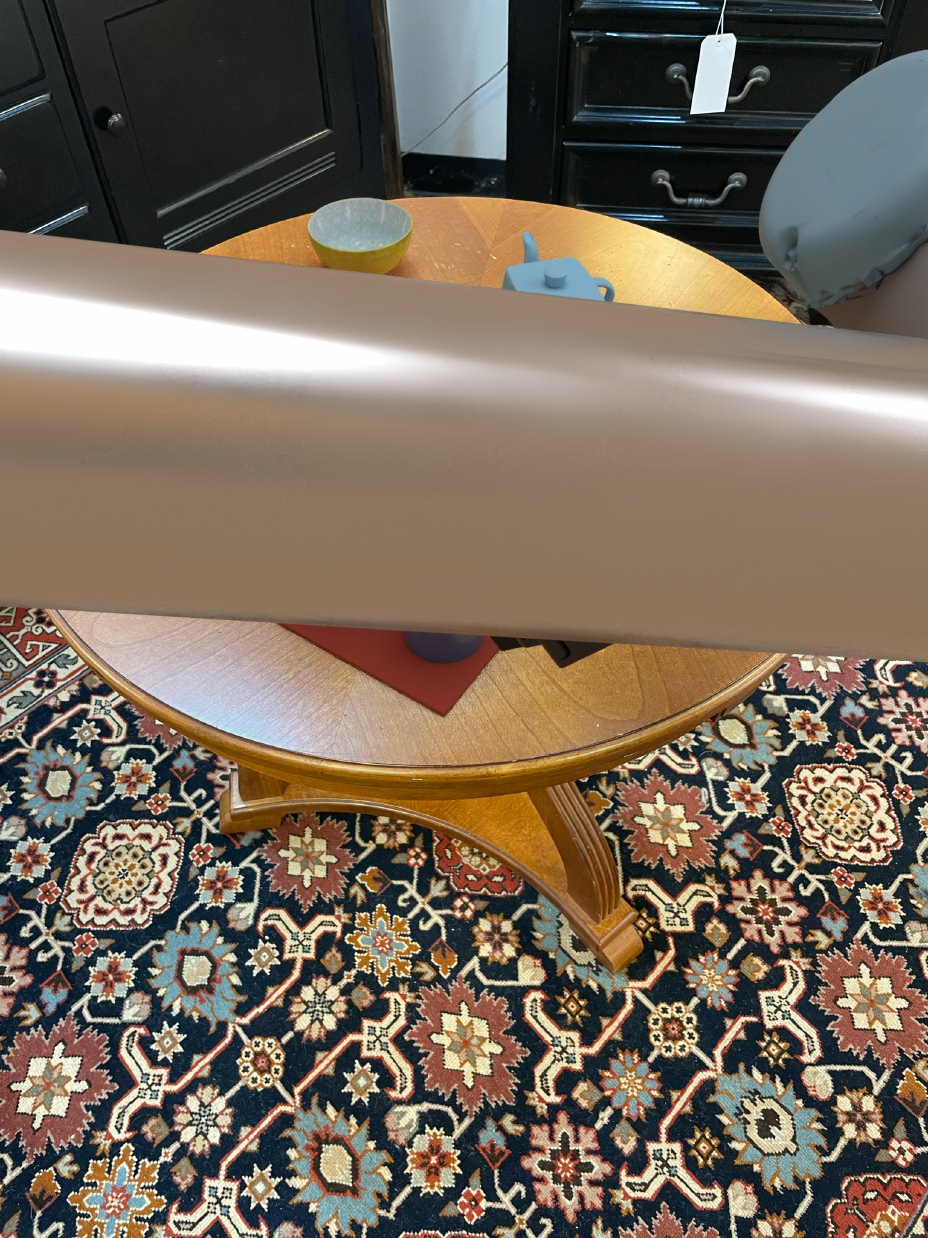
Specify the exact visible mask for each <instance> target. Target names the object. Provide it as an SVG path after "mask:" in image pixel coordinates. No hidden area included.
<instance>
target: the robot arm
mask: <svg viewBox="0 0 928 1238" xmlns="http://www.w3.org/2000/svg"><path fill="white" fill-rule="evenodd" d="M758 234H759V241H760V245H761V248H762V251H763V253H764V255H765V258H766V259H767V261H768V262H769V263H770V264H771V265H772V266H773V267H774V268H775V269H776V270H777V271H778V272H779V273H780V274H781V276H782V277H783V278H784V279H785V280H786V281H787V282H788V283H789V284H790V285H791V286H792V287H793V288H794V290H795V291H796V294H797V299H798V301H799V302H800V303H801V304H802V305H803V306H804V307H805V308H807V309H814V310H815V311H817V312H818V313H819V314H821V315H822V316H823V317H825V318H826V319H827V320H828V321H829V322H830V324H832V326H833V327H832V326H831V327H829V326H821V325H813V324H812V325H811V324H806V323H796V322H789V321H788V322H787V321H779V320H770V319H761V318H752V317H745V316H737V315H728V314H720V313H719V314H718V313H710V312H702V311H695V310H685V309H678V308H668V307H659V306H651V305H645V304H644V305H642V304H634V303H626V302H619V301H613V302H610V301H601V300H592V299H584V298H575V297H567V296H558V295H550V294H541V293H533V292H524V291H516V290H507V289H502V288H499V287H498V288H497V287H491V286H490V287H489V286H482V285H481V286H480V285H473V284H463V283H455V282H448V281H439V280H432V279H431V280H429V279H423V278H421V279H420V278H413V277H406V276H405V277H404V276H397V275H396V276H395V275H387V274H384V275H379V274H371V273H362V272H354V271H345V270H337V269H330V268H329V267H318V266H310V265H302V264H294V263H287V262H286V263H284V262H278V261H277V262H276V261H269V260H268V261H267V260H260V259H252V258H243V257H234V256H225V255H216V254H209V253H208V254H207V253H201V252H192V251H184V250H183V251H182V250H173V249H165V248H156V247H148V246H140V245H131V244H122V243H115V242H106V241H97V240H88V239H82V238H81V239H80V238H73V237H65V236H63V237H62V236H57V235H54V236H53V235H47V234H37V233H31V232H30V233H29V232H20V231H13V230H4V229H0V607H3V608H4V607H5V608H18V609H19V608H21V609H36V610H54V611H55V610H56V611H70V612H86V613H87V612H88V613H103V614H121V615H135V616H136V615H137V616H138V615H139V616H154V617H169V618H170V617H172V618H185V619H186V618H187V619H202V620H203V619H205V620H219V621H220V620H221V621H235V622H236V621H237V622H252V623H253V622H254V623H269V624H278V623H284V624H301V625H318V626H334V627H351V628H367V629H384V630H400V631H417V632H434V633H450V634H467V635H483V636H490V637H491V639H492V640H493V641H494V643H495V644H496V645H497V646H498V648H499V651H500V652H505V651H510V650H514V649H521V648H525V649H529V648H534V647H537V646H542V648H543V649H544V650H545V652H546V653H547V655H548V656H549V657H550V658H551V659H552V661H553V663H555V665H556V666H557V667H558V668H559V669H564V668H567V667H569V666H571V665H573V664H575V663H577V662H579V661H581V660H583V659H585V658H587V657H590V656H591V655H594V654H596V653H599V652H600V651H603V650H605V649H606V648H608V647H610V646H612V645H615V644H619V645H633V646H634V645H635V646H648V647H649V646H652V647H666V648H667V647H668V648H681V649H683V648H684V649H699V650H716V651H717V650H718V651H734V652H748V653H749V652H752V653H764V654H765V653H767V654H780V655H781V654H783V655H784V654H785V655H799V656H800V655H801V656H817V657H831V658H833V657H834V658H849V659H863V660H866V659H867V660H883V661H884V660H885V661H899V662H913V663H914V662H917V663H928V49H923V50H918V51H913V52H910V53H907V54H904V55H900V56H897V57H895V58H893V59H891V60H890V59H889V60H888V61H886V62H884V63H882V64H880V65H878V66H877V67H874V68H873V69H871V70H870V71H867V72H866V73H864V74H863V75H861V76H859V77H858V78H857V79H855V80H854V81H852V82H851V83H849V84H848V85H847V86H845V87H844V88H843V89H842V90H841V91H840V92H839V93H837V94H836V95H835V96H834V97H833V98H832V100H831V101H829V103H828V104H826V105H825V106H824V107H823V108H822V109H821V110H820V111H819V112H818V113H817V114H816V115H815V116H814V117H813V118H812V119H811V120H810V121H809V122H808V123H807V124H805V125H804V127H803V128H802V129H801V131H800V132H798V134H797V136H796V137H795V138H794V139H793V140H792V142H791V143H790V145H789V146H788V147H787V149H786V151H785V152H784V154H783V155H782V157H781V159H780V161H779V163H778V164H777V166H776V168H775V169H774V171H773V174H772V176H771V178H770V179H769V182H768V184H767V187H766V189H765V191H764V194H763V198H762V202H761V205H760V210H759V218H758Z"/></svg>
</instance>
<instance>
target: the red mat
mask: <svg viewBox="0 0 928 1238" xmlns="http://www.w3.org/2000/svg"><path fill="white" fill-rule="evenodd" d="M277 625H279V626H282V627H283V628H284V629H287V630H288V631H290V632H292V633H294V634H296V635H297V636H299V637H301V638H303V639H305V640H306V641H308V642H310V643H312V644H314V646H315V645H316V646H317V647H319V648H321V649H322V650H324V651H326V652H327V653H330V654H331V655H333V656H335V657H337V658H338V659H341V660H342V661H344V662H346V663H347V664H349V665H351V666H353V667H355V668H356V669H358V670H361V671H362V672H363V673H365V674H367V675H368V676H371V677H372V678H374V679H376V680H378V681H380V682H381V683H384V684H385V685H386V686H388V687H390V688H392V689H394V690H395V691H397V692H398V693H401V694H403V695H404V696H405V697H406V696H407V697H408V698H410V699H412V700H413V701H415V702H417V703H419V704H420V705H422V706H424V707H425V708H428V709H429V710H431V711H432V712H434V713H436V714H438V715H440V716H442V717H443V718H444V717H446V716H447V714H448V713H449V712H450V711H451V709H452V708H453V707H454V705H455V704H456V703H457V702H458V701H459V699H460V698H462V695H464V694H465V692H466V691H467V690H468V689H469V687H470V686H471V685H472V684H473V683H474V681H475V680H476V679H477V677H478V676H479V675H480V674H481V673H482V672H483V670H484V669H485V668H486V667H487V665H488V664H489V663H490V662H491V660H492V659H493V658H494V657H495V655H496V654H497V653H498V652H499V651H500V649H499V648H498V646H497V645H496V644H495V643H494V641H493V640H492V639H491V637H490V636H485V639H484V641H483V643H482V645H481V646H480V648H479V649H478V650H477V651H476V652H475V653H473V654H472V655H471V656H469V657H467V658H465V659H463V660H460V661H457V662H452V663H434V662H430V661H427V660H424V659H422V658H419V657H418V656H416V655H415V654H414V653H412V652H411V651H410V650H409V649H408V647H407V646H406V645H405V643H404V641H403V638H402V631H400V630H384V629H367V628H351V627H334V626H318V625H301V624H284V623H277Z"/></svg>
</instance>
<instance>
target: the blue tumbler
mask: <svg viewBox="0 0 928 1238" xmlns="http://www.w3.org/2000/svg"><path fill="white" fill-rule="evenodd" d="M402 638H403V641H404V643H405V645H406V646H407V647H408V649H409V650H410V651H411V652H412V653H414V654H415V655H416V656H418V657H419V658H422V659H424V660H427V661H430V662H434V663H452V662H457V661H460V660H463V659H465V658H467V657H469V656H471V655H472V654H473V653H475V652H476V651H477V650H478V649H479V648H480V646H481V645H482V643H483V641H484V639H485V636H483V635H467V634H450V633H434V632H417V631H402Z"/></svg>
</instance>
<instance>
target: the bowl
mask: <svg viewBox="0 0 928 1238" xmlns="http://www.w3.org/2000/svg"><path fill="white" fill-rule="evenodd" d="M306 226H307V227H306V228H307V234H308V237H309V241H310V243H311V246H312V249H313V251H314V252H315V254H316V256H317V257H318V258H319V260H320V261H321V262H322V263H323V264H324V266H326V267H327V268H328V269H337V270H345V271H354V272H362V273H371V274H379V275H386V274H387V273H388V272H390V271H391V270H393V269H394V268H395V267H397V266H398V265H399V264H400V262H401V261H402V260H403V258H404V257H405V256H406V254H407V252H408V250H409V247H410V244H411V240H412V237H413V229H414V227H413V226H414V222H413V217H412V215H411V214H410V213H409V212H408V210H406V209H405V207H402V206H401V205H399V204H396V203H394V202H391V201H388V200H386V199H385V200H384V199H380V198H373V197H356V198H355V197H353V198H352V197H351V198H346V199H341V200H337V201H334V202H330V203H328V204H326V205H323V206H322V207H319V208H318V209H316V211H314V212H313V213H312V214H311V216H310V217H309V218H308V221H307V224H306Z"/></svg>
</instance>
